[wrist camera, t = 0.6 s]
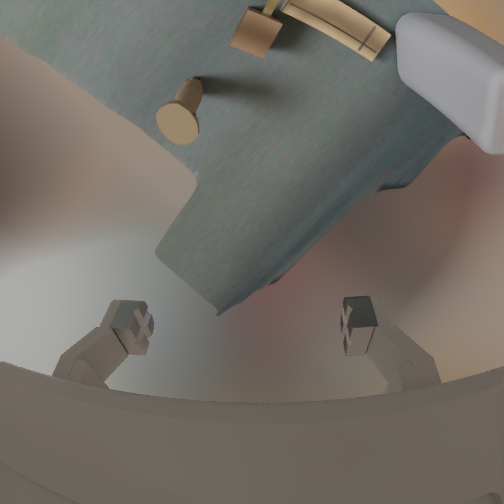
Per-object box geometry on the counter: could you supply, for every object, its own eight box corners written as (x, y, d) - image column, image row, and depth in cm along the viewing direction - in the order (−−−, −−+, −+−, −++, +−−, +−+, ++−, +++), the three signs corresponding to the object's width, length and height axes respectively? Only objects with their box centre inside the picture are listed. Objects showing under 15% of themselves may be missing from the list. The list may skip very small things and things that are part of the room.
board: (297, -20, 30) (301, -20, 28) (382, 30, 36) (391, 35, 34) (279, 9, 35) (282, 12, 32) (364, 56, 40) (372, 62, 38)
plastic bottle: (389, 10, 32) (504, 65, 15) (462, 16, 30) (579, 84, 12) (395, 87, 44) (480, 186, 27) (460, 86, 41) (552, 178, 24)
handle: (197, 64, 42) (180, 97, 33) (215, 93, 47) (205, 135, 37) (172, 77, 43) (148, 114, 34) (191, 105, 48) (175, 150, 39)
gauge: (262, -19, 31) (265, -20, 26) (293, -6, 32) (300, -4, 28) (232, 37, 38) (230, 45, 34) (261, 48, 40) (263, 58, 36)
